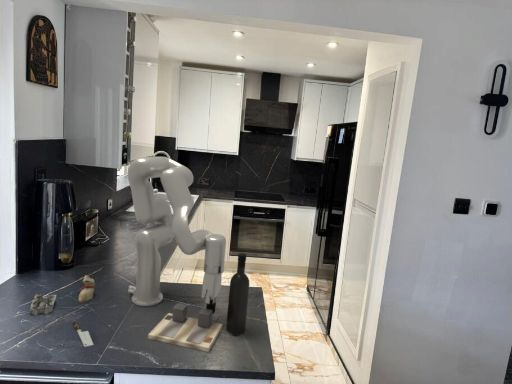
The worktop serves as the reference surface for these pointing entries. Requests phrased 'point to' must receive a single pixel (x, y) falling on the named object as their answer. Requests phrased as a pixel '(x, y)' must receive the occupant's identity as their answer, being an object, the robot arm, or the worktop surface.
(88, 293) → the cream animal figurine
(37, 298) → the egg carton
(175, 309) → the dark grey block
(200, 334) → the switch panel
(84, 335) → the cleaver
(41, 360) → the worktop surface
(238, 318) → the wine bottle
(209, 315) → the right tab
